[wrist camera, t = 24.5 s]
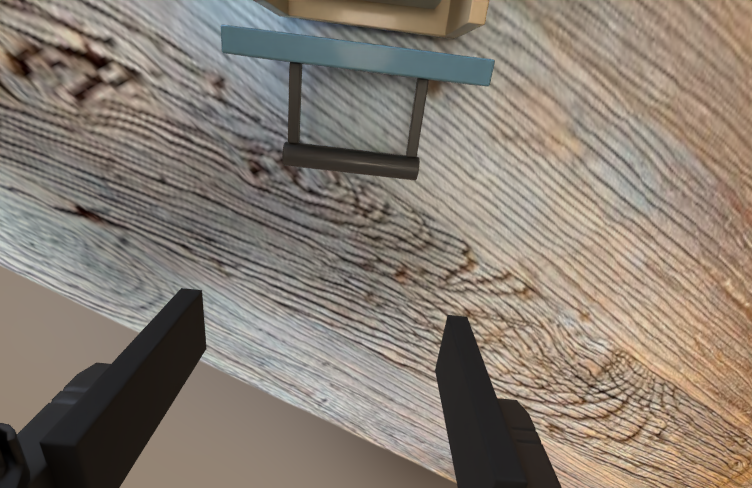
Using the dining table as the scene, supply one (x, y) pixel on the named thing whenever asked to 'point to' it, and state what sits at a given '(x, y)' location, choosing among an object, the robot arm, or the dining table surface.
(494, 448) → the robot arm
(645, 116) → the dining table surface
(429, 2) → the cream box
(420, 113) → the drawer
